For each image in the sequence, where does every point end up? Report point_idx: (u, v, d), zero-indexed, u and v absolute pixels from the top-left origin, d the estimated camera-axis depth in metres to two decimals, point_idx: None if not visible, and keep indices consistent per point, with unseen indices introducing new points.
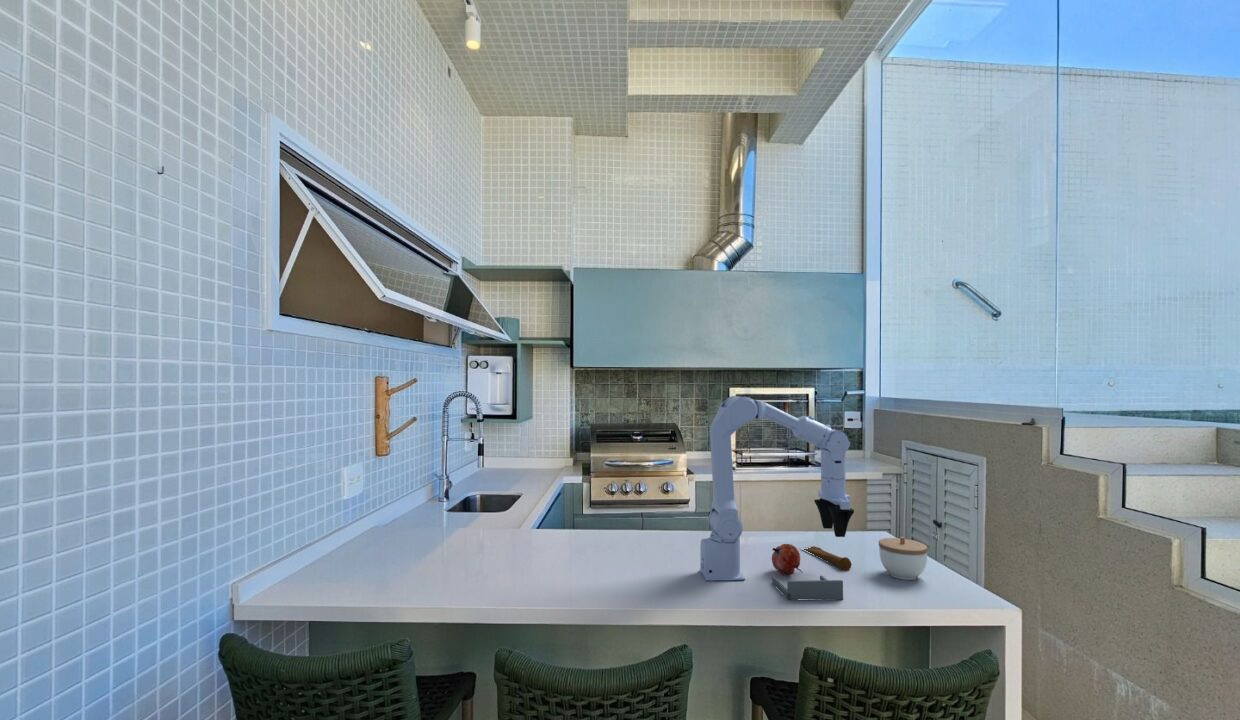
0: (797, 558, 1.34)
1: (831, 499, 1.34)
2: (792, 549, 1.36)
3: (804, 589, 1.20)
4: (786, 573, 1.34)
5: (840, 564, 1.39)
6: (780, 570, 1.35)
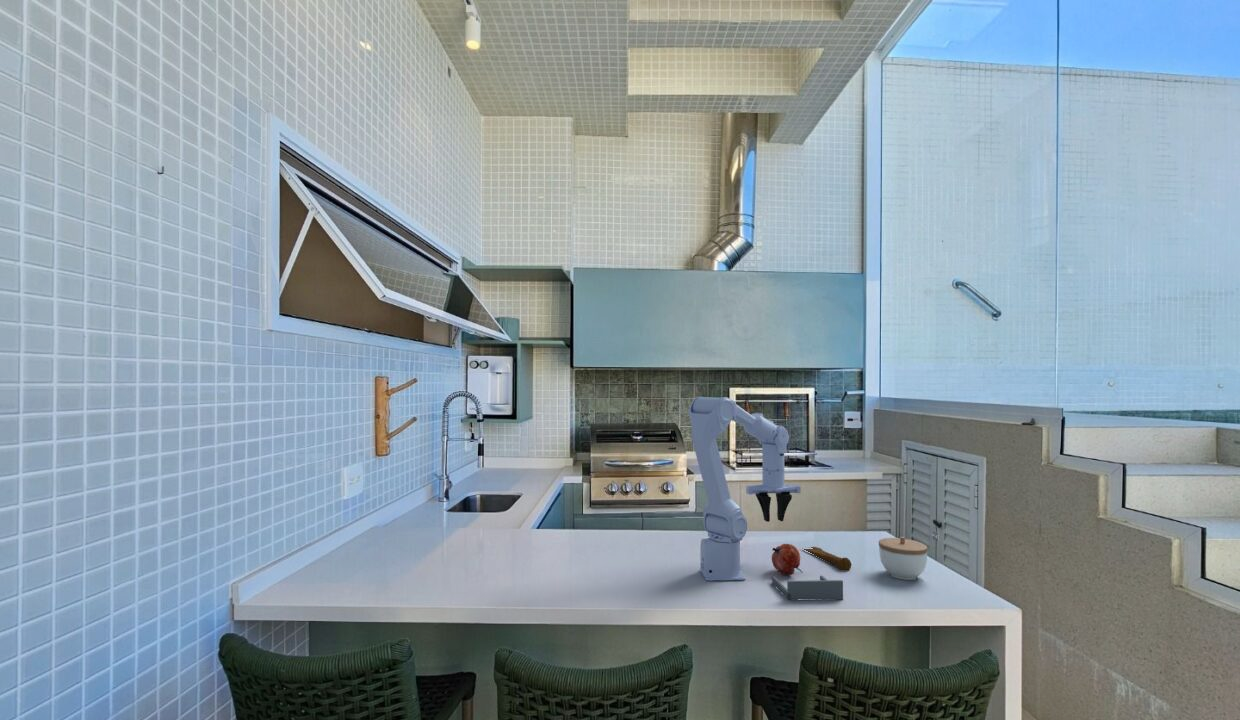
0: (797, 558, 1.34)
1: None
2: (792, 549, 1.36)
3: (804, 589, 1.20)
4: (786, 573, 1.34)
5: (840, 564, 1.39)
6: (780, 570, 1.35)
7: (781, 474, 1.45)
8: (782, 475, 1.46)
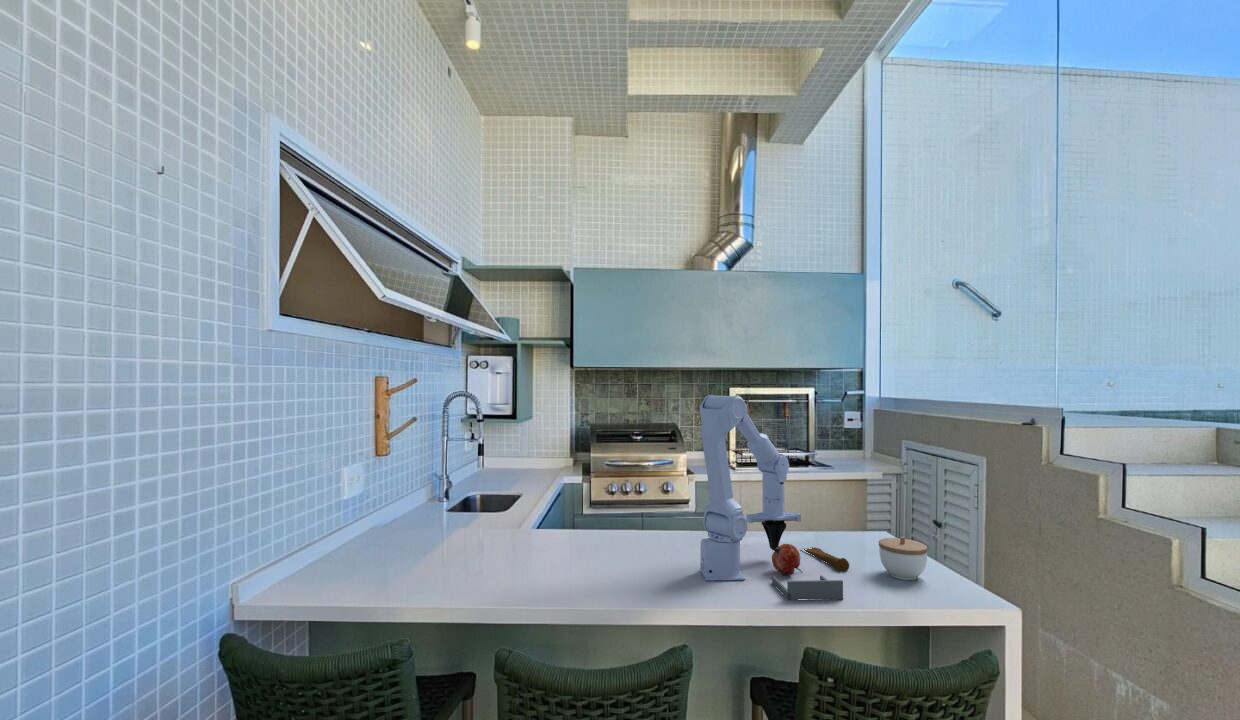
0: (797, 558, 1.34)
1: None
2: (792, 549, 1.36)
3: (804, 589, 1.20)
4: (786, 573, 1.34)
5: (837, 565, 1.38)
6: (780, 570, 1.35)
7: (781, 503, 1.45)
8: (782, 504, 1.45)
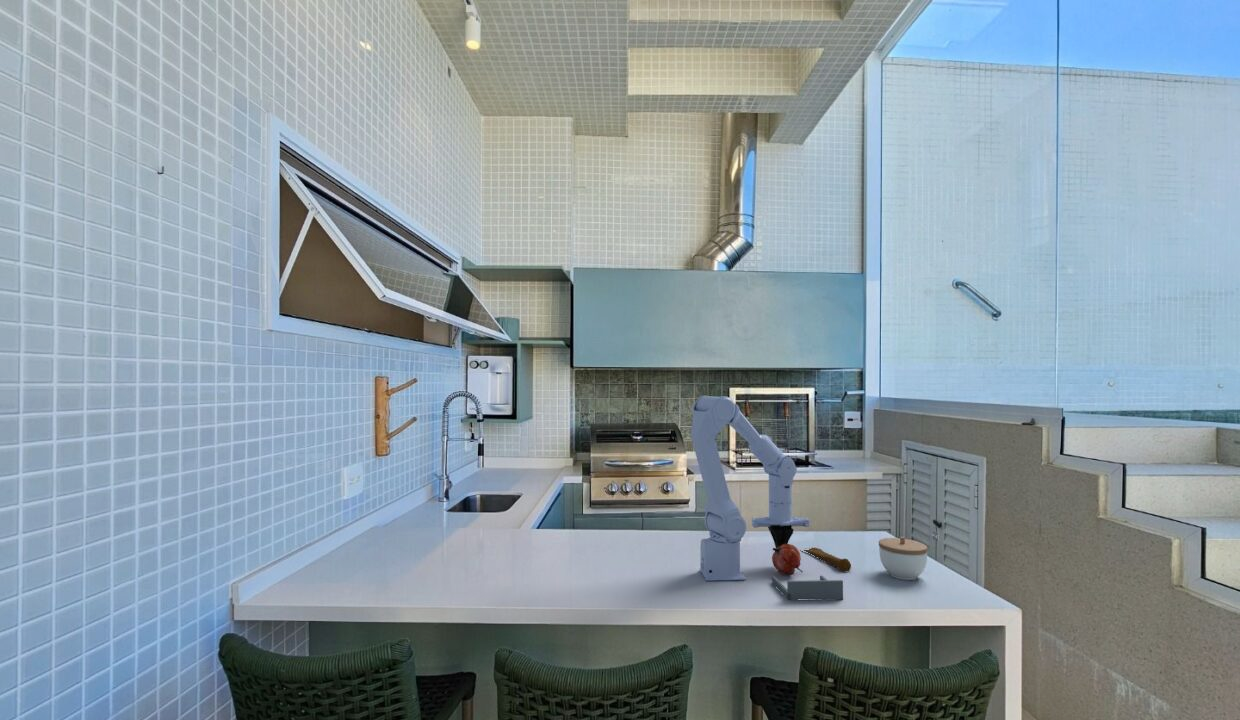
0: (797, 558, 1.34)
1: None
2: (793, 549, 1.36)
3: (804, 589, 1.20)
4: (787, 573, 1.34)
5: (839, 565, 1.38)
6: (780, 570, 1.34)
7: (788, 507, 1.40)
8: (789, 508, 1.40)
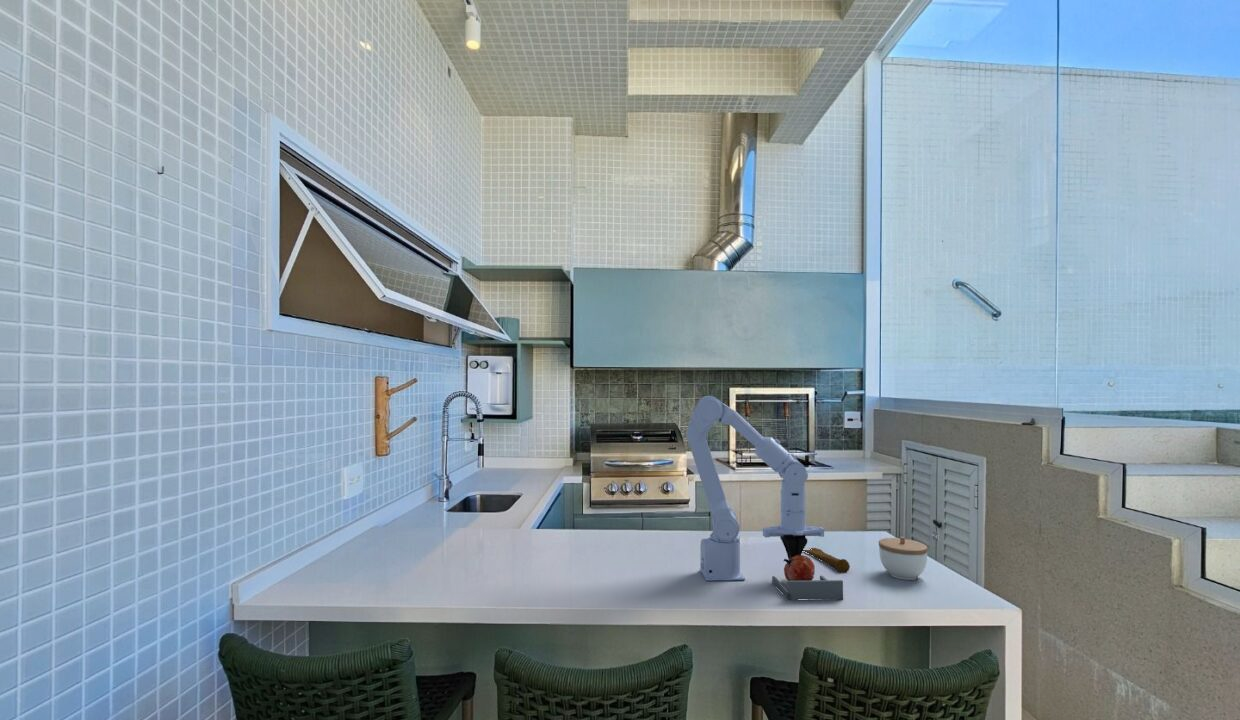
0: (810, 571, 1.25)
1: None
2: (806, 561, 1.26)
3: (804, 589, 1.20)
4: None
5: (838, 566, 1.38)
6: None
7: (801, 516, 1.31)
8: (803, 517, 1.31)
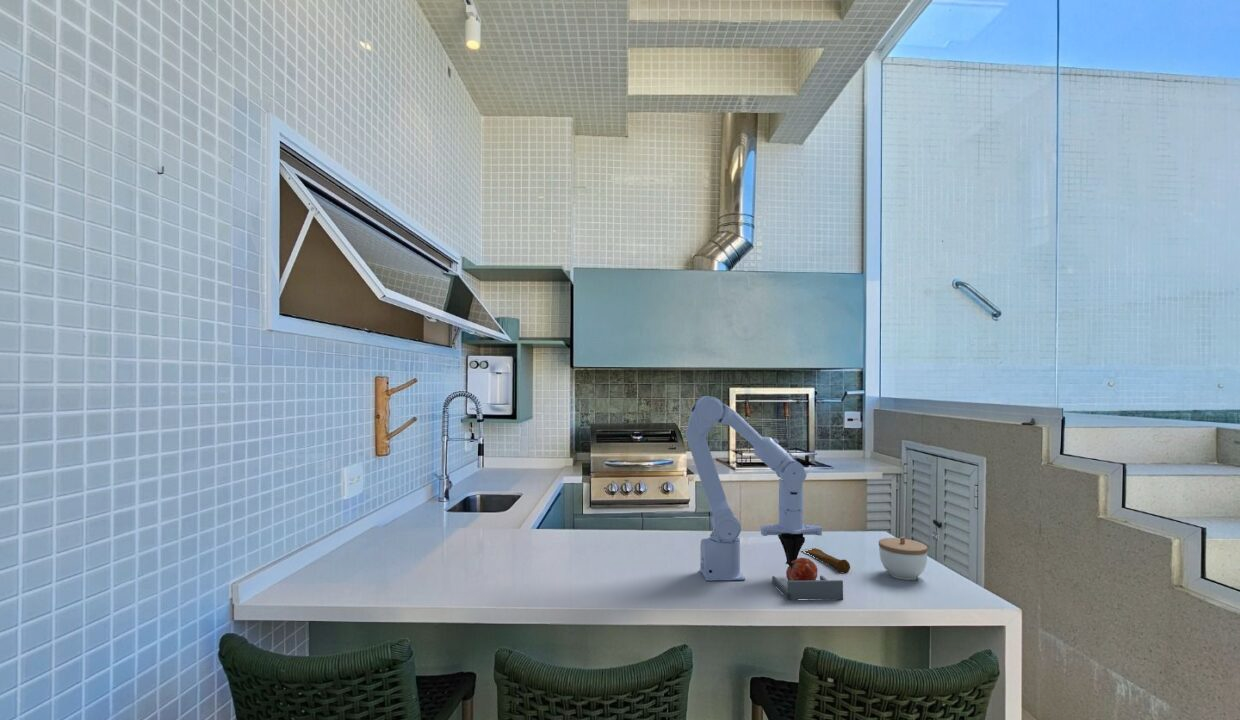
0: (812, 574, 1.23)
1: None
2: (808, 564, 1.25)
3: (804, 589, 1.20)
4: None
5: (838, 566, 1.37)
6: None
7: (799, 514, 1.32)
8: (800, 515, 1.32)
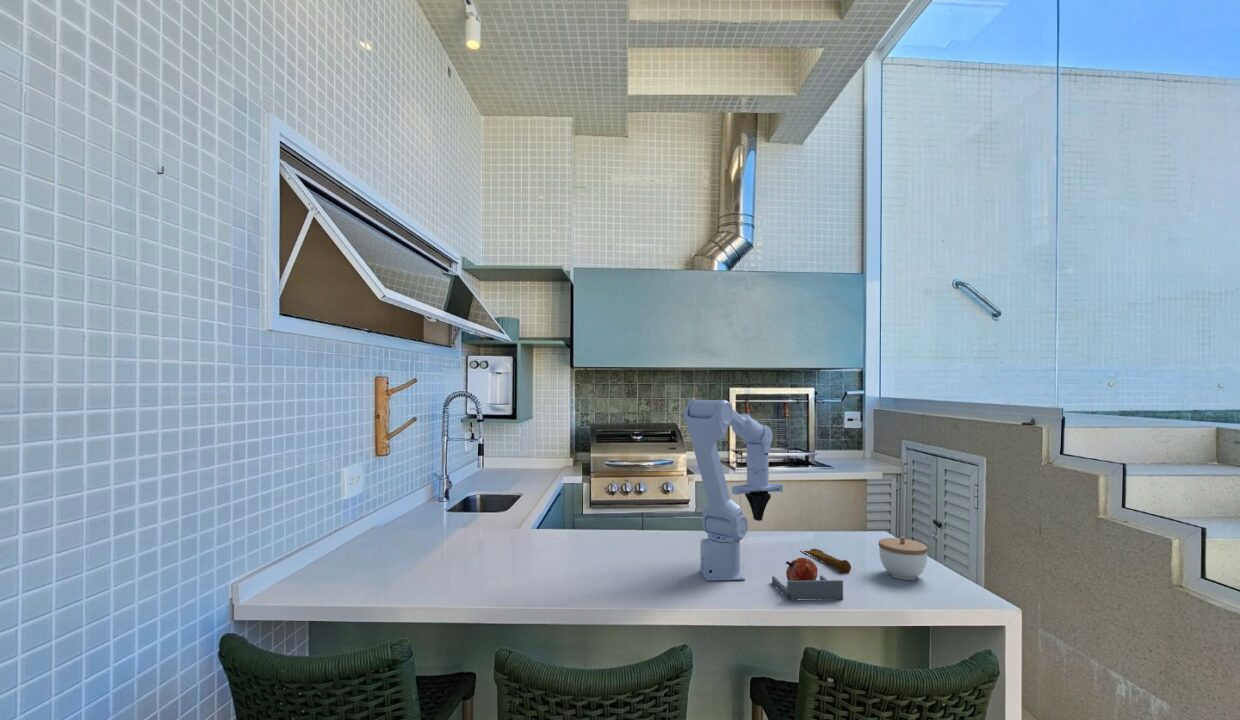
0: (812, 574, 1.23)
1: None
2: (808, 564, 1.25)
3: (804, 589, 1.20)
4: None
5: (839, 567, 1.37)
6: None
7: (766, 473, 1.46)
8: (767, 474, 1.47)
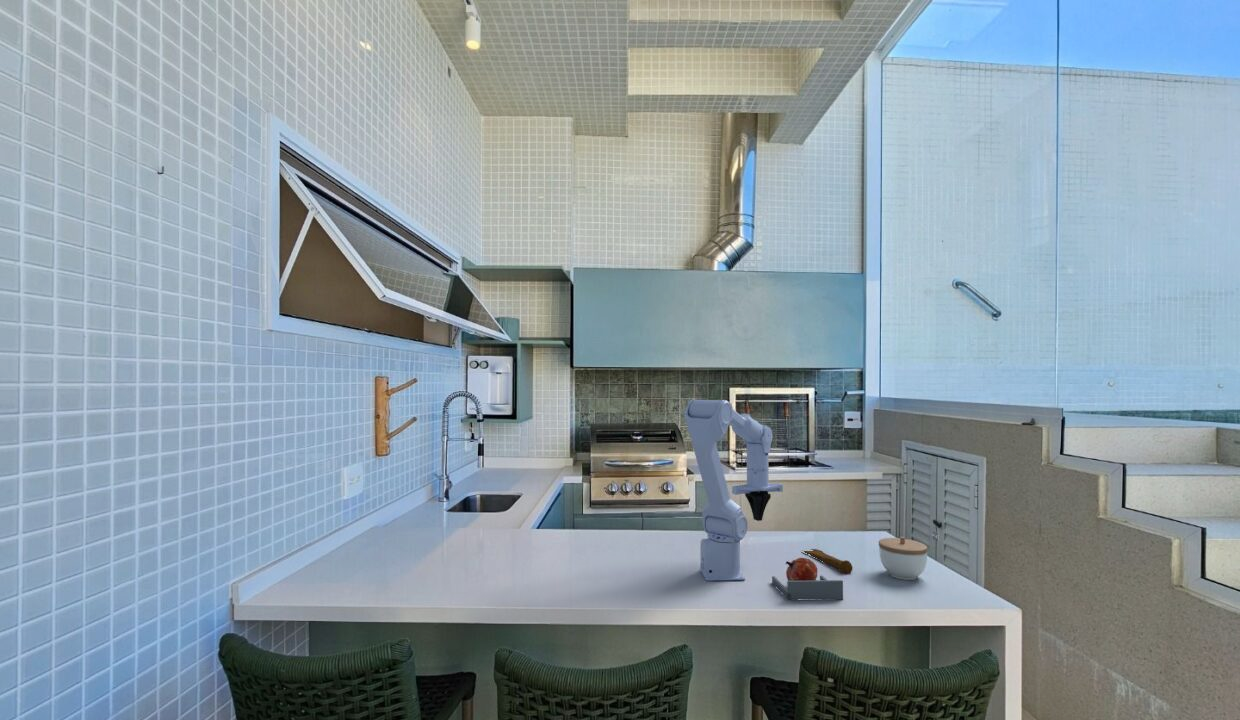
0: (812, 574, 1.23)
1: None
2: (808, 564, 1.25)
3: (804, 589, 1.20)
4: None
5: (841, 567, 1.37)
6: None
7: (766, 473, 1.46)
8: (767, 474, 1.47)
